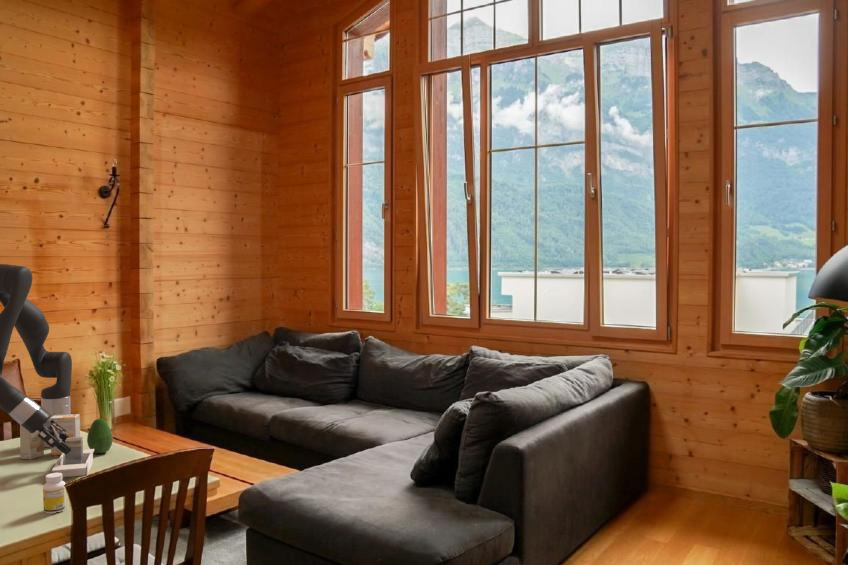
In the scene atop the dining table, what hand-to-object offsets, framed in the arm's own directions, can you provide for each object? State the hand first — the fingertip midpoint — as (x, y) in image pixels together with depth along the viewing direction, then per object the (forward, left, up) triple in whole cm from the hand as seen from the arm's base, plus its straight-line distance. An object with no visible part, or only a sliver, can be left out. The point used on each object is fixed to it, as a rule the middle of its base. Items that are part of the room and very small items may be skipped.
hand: (71, 448), depth 223 cm
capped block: (0, +1, -7) cm, 7 cm away
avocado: (-18, +6, -7) cm, 20 cm away
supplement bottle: (+36, +1, -7) cm, 37 cm away
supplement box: (-21, -5, -7) cm, 22 cm away
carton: (0, +1, -7) cm, 7 cm away
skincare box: (-20, -15, -7) cm, 26 cm away
